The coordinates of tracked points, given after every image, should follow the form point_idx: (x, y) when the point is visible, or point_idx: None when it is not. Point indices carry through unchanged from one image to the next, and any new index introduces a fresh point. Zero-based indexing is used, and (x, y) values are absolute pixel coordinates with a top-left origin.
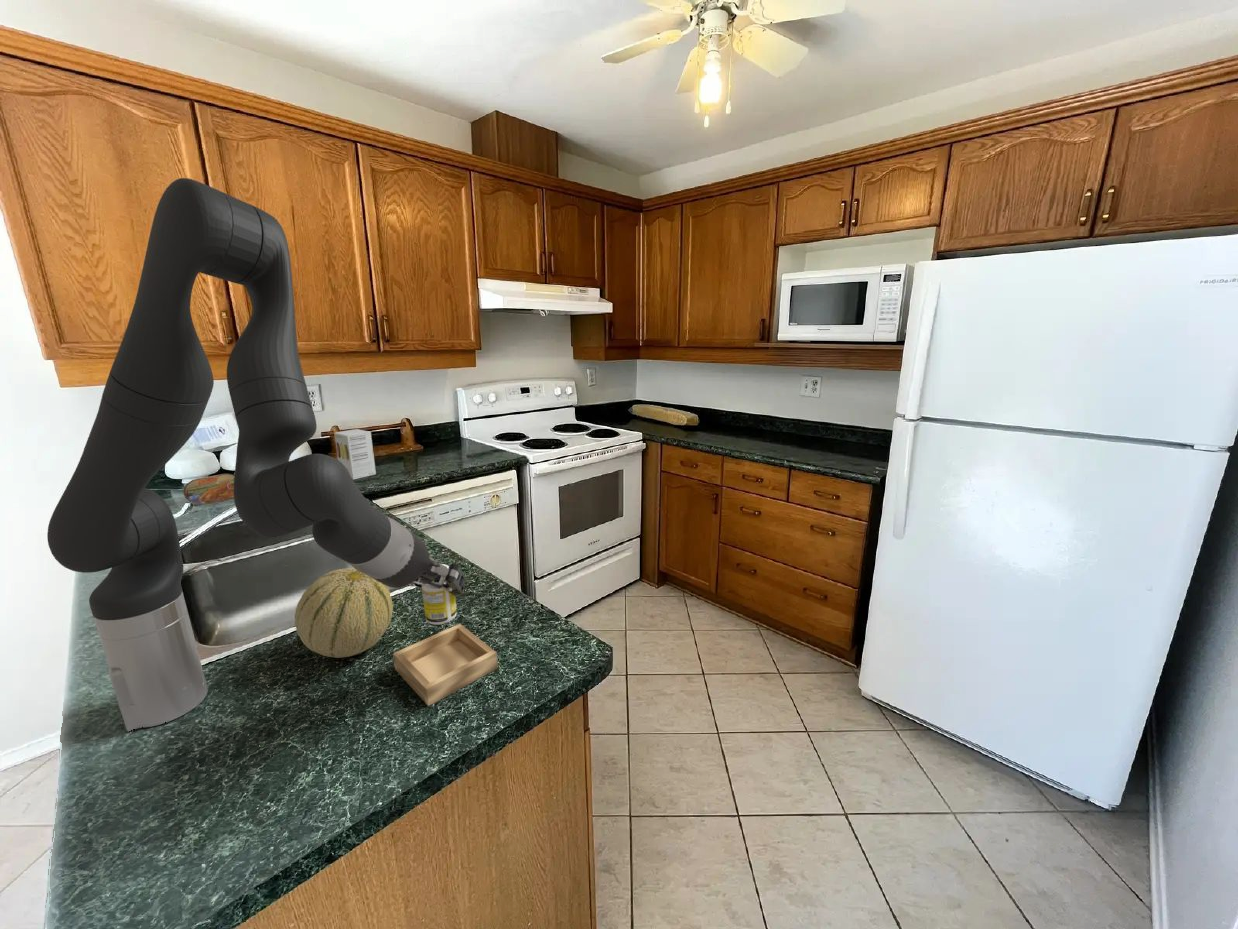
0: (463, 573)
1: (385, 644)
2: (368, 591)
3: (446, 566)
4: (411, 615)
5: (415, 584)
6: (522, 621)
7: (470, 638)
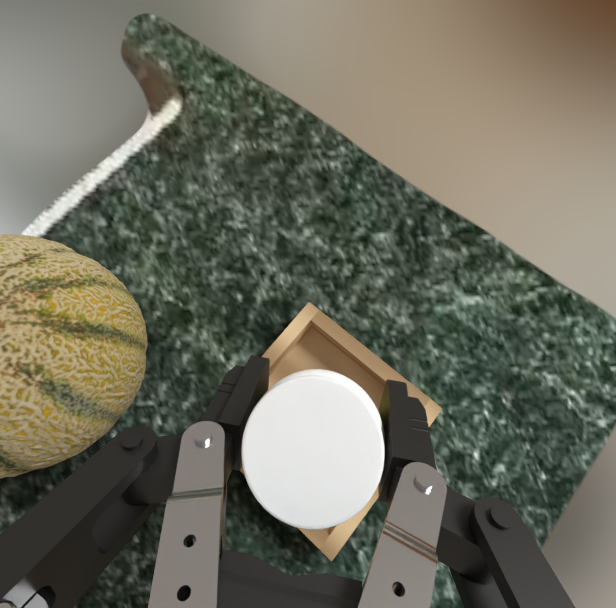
0: (556, 581)
1: (157, 345)
2: (36, 363)
3: (355, 405)
4: (172, 242)
5: (226, 491)
6: (421, 243)
7: (357, 357)
